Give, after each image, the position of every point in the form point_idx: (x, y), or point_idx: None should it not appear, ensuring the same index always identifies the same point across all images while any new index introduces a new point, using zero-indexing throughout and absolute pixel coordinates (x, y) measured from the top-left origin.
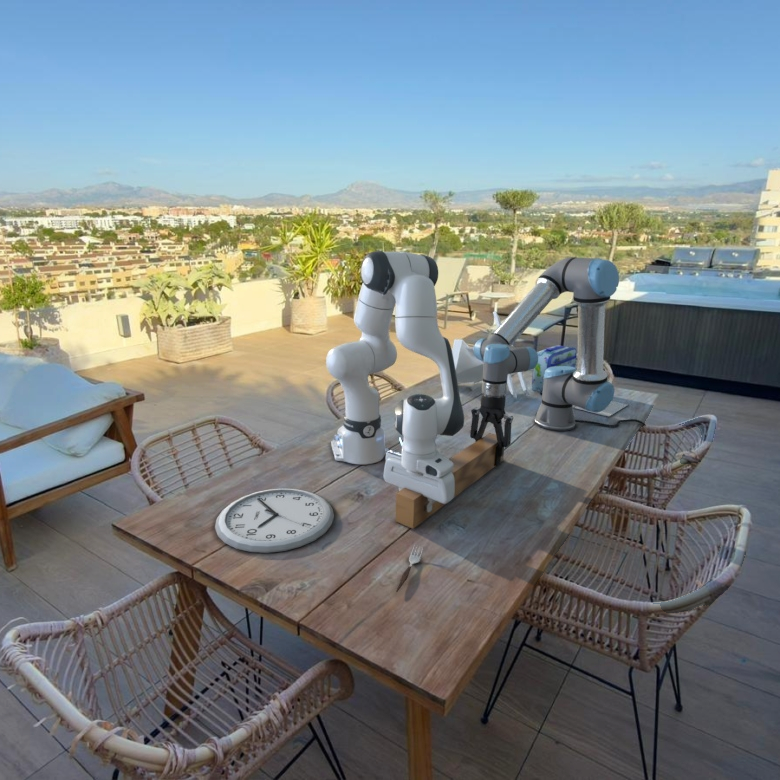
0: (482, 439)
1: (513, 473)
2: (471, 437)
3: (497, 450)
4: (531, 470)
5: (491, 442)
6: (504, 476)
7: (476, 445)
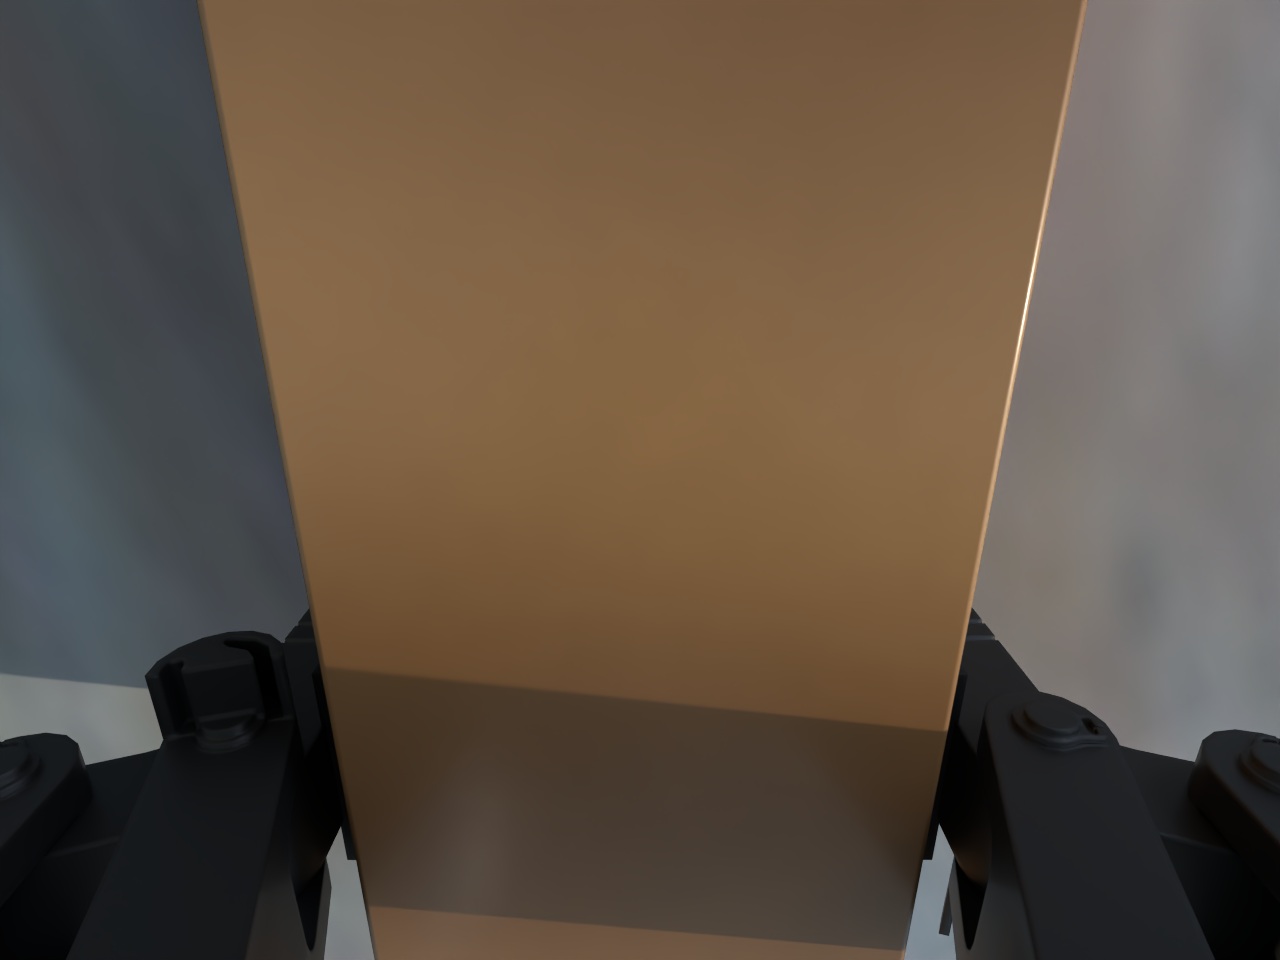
0: (858, 766)
1: (164, 455)
2: (1258, 742)
3: None
4: (63, 689)
5: (488, 731)
6: (189, 262)
7: (829, 83)
